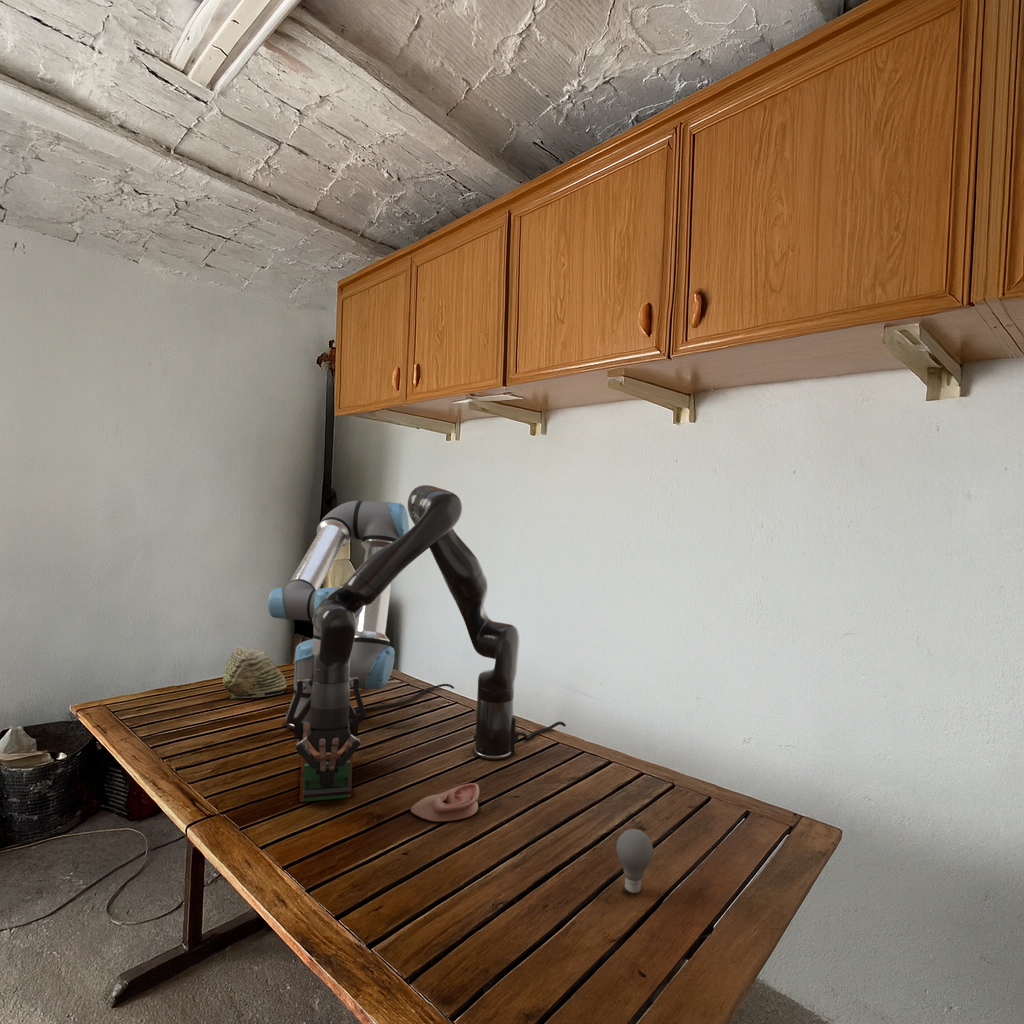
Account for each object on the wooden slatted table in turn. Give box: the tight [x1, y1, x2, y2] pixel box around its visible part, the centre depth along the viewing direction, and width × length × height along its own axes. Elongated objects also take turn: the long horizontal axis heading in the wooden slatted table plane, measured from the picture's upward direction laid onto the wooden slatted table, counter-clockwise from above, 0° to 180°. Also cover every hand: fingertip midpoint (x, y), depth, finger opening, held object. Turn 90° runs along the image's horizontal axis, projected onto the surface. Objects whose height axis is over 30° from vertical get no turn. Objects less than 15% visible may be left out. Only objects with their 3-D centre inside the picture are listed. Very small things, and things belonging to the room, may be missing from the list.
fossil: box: [222, 646, 288, 699], centre depth 198 cm, size 9×18×15 cm, turn 132°
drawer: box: [303, 760, 350, 803], centre depth 136 cm, size 23×9×7 cm, turn 17°
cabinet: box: [299, 724, 354, 803], centre depth 142 cm, size 19×10×10 cm, turn 17°
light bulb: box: [615, 828, 654, 894], centre depth 106 cm, size 6×6×10 cm
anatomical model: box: [410, 782, 480, 822], centre depth 131 cm, size 13×4×12 cm
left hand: (325, 750), depth 146 cm, fingers closed on cabinet, 10 cm apart
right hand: (326, 787), depth 127 cm, fingers closed
